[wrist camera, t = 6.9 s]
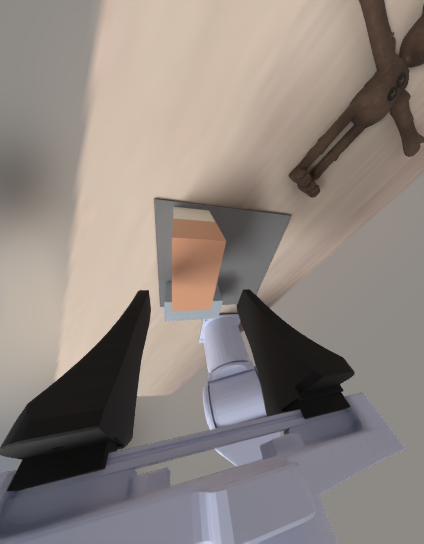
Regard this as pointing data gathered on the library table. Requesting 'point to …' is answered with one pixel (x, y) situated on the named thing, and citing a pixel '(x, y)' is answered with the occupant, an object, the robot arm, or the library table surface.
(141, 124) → the library table surface
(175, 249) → the terracotta brick
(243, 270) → the charcoal mat
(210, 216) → the cream brick
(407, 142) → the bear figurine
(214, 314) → the slate brick
